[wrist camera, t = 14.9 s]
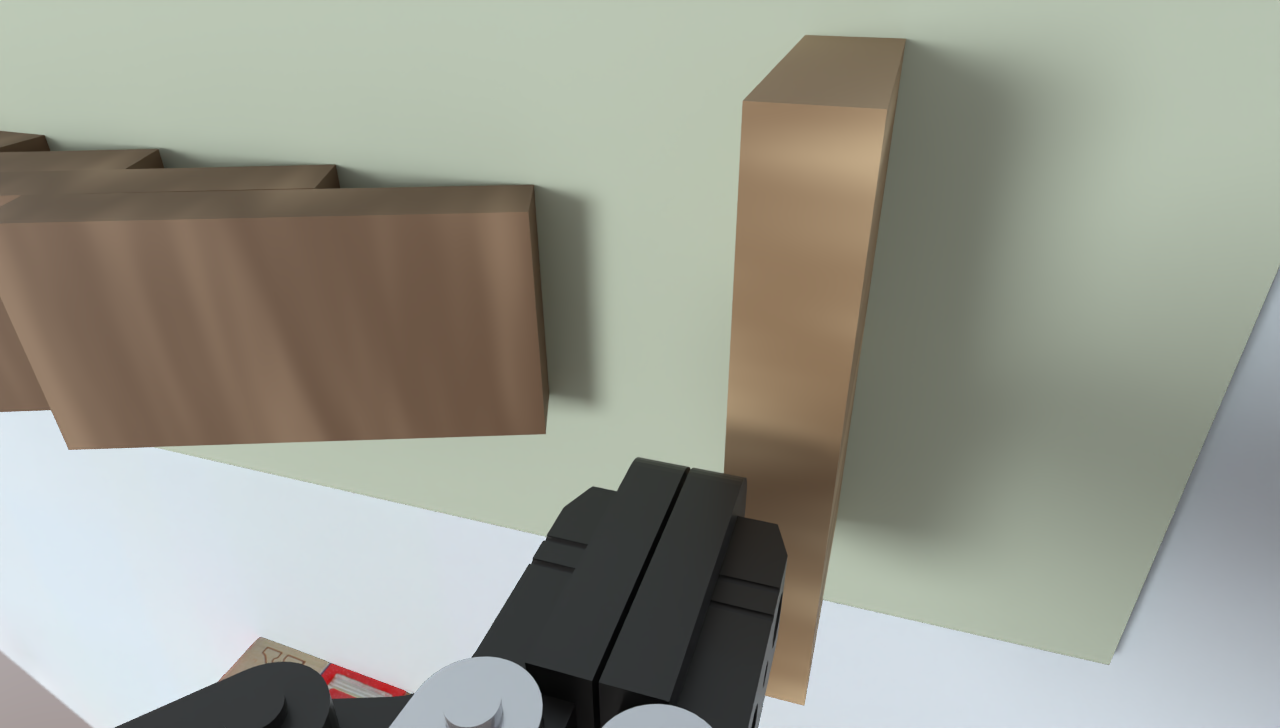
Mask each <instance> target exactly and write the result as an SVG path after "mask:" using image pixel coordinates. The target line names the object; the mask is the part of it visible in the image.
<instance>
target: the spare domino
mask: <svg viewBox="0 0 1280 728" xmlns="http://www.w3.org/2000/svg"><path fill="white" fill-rule="evenodd" d="M905 42H906V39H904V38H876V37H847V36H819V35H805V36H804V37H803V38H802V39H801V40H800V41H799V42H798V43H797V44H796V45H795V46H794V47H793V48H792V49H791V50H790V51H789V53H788V54H787V55H786V56H785V57H784V58H783V59H782V60H781V61H780V62H779V63H778V64H777V65H776V66H775V67H774V68H773V69H772V70H771V71H770V73H769V74H768V75H767V76H766V77H765V78H764V79H763V80H762V81H761V82H760V83H759V84H758V85H757V86H756V87H755V88H754V89H753V90H752V91H751V93H750V94H749V95H748V96H747V97H746V98H745V99H744V100H743V102H742V122H741V142H740V162H739V182H738V201H737V221H736V241H735V261H734V281H733V300H732V320H731V340H730V360H729V379H728V399H727V419H726V439H725V459H724V473H725V474H730V475H735V476H740V477H745V478H747V495H746V507H745V518H750V519H755V520H760V521H764V522H769V523H774V524H778V526H779V530H780V533H781V536H782V539H783V542H784V545H785V548H786V552H787V555H788V558H787V566H786V574H785V582H784V590H783V598H782V606H781V614H780V623H779V631H778V638H777V643H776V648H775V652H774V657H773V661H772V666H771V670H770V674H769V680H768V684H767V689H766V693H765V696H769V697H773V698H777V699H781V700H784V701H788V702H792V703H796V704H800V705H804V704H805V699H806V693H807V687H808V681H809V676H810V670H811V664H812V658H813V653H814V647H815V641H816V635H817V629H818V624H819V618H820V612H821V606H822V601H823V595H824V589H825V583H826V578H827V572H828V566H829V560H830V555H831V549H832V543H833V537H834V531H835V526H836V520H837V513H838V506H839V499H840V492H841V486H842V479H843V472H844V465H845V458H846V451H847V444H848V437H849V430H850V423H851V416H852V409H853V402H854V396H855V389H856V382H857V375H858V368H859V361H860V354H861V347H862V340H863V333H864V326H865V319H866V312H867V306H868V299H869V292H870V285H871V278H872V271H873V264H874V257H875V250H876V243H877V236H878V229H879V222H880V216H881V209H882V202H883V195H884V188H885V181H886V174H887V167H888V160H889V153H890V146H891V139H892V132H893V125H894V119H895V112H896V105H897V98H898V91H899V84H900V77H901V70H902V63H903V56H904V49H905Z"/></svg>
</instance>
